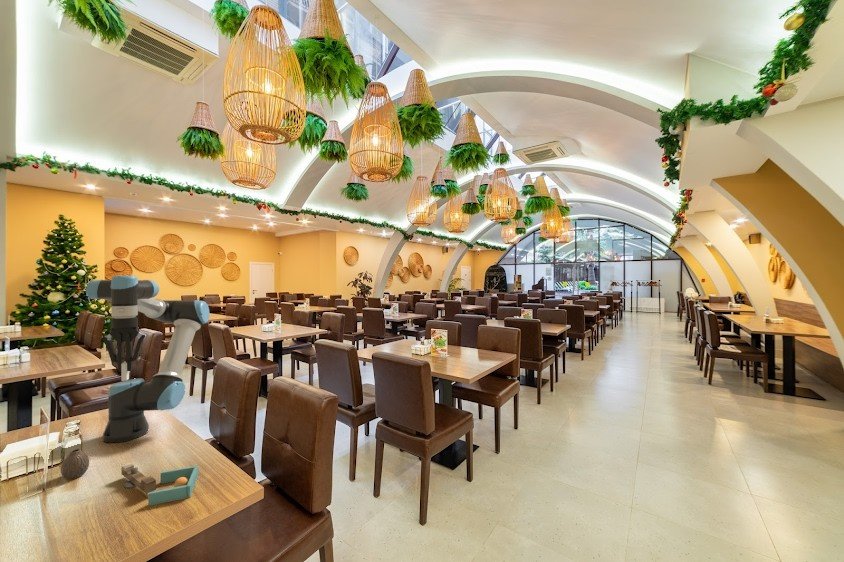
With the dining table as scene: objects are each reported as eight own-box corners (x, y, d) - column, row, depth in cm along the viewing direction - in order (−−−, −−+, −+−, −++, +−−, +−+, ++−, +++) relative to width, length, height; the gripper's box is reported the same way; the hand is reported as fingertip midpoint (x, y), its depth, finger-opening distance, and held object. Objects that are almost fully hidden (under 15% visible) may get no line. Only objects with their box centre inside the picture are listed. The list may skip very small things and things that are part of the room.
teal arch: (161, 482, 115) (161, 471, 115) (198, 475, 119) (198, 465, 119) (148, 505, 103) (148, 494, 103) (190, 497, 107) (190, 486, 107)
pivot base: (127, 481, 115) (127, 479, 115) (146, 477, 117) (146, 476, 117) (121, 489, 111) (121, 488, 111) (140, 485, 113) (140, 484, 113)
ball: (176, 488, 112) (175, 477, 112) (189, 484, 114) (188, 473, 114) (173, 493, 109) (172, 482, 109) (186, 489, 110) (185, 478, 110)
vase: (71, 483, 114) (71, 456, 114) (54, 480, 116) (55, 454, 116) (94, 471, 121) (94, 446, 121) (79, 469, 122) (79, 444, 122)
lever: (121, 476, 117) (121, 464, 117) (130, 472, 119) (130, 461, 119) (146, 496, 106) (146, 483, 106) (155, 492, 108) (155, 479, 108)
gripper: (97, 319, 123) (98, 384, 123) (143, 317, 128) (144, 380, 129) (106, 316, 130) (106, 379, 130) (149, 315, 135) (149, 375, 136)
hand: (125, 379), depth 130 cm, fingers closed
